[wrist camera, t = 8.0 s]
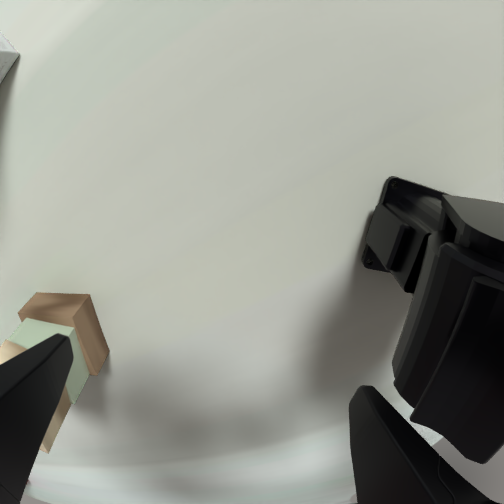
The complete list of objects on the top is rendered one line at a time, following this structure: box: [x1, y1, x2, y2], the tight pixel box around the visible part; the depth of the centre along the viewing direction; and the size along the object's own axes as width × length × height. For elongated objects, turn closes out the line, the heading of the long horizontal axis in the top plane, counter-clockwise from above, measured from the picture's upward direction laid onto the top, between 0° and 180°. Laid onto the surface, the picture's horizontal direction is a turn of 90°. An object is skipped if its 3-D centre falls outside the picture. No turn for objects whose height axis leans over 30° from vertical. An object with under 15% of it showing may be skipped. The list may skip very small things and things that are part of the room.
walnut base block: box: [18, 292, 109, 376], centre depth 23 cm, size 6×6×4 cm
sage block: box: [8, 318, 90, 404], centre depth 20 cm, size 5×5×4 cm
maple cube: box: [0, 340, 71, 454], centre depth 16 cm, size 5×5×5 cm
